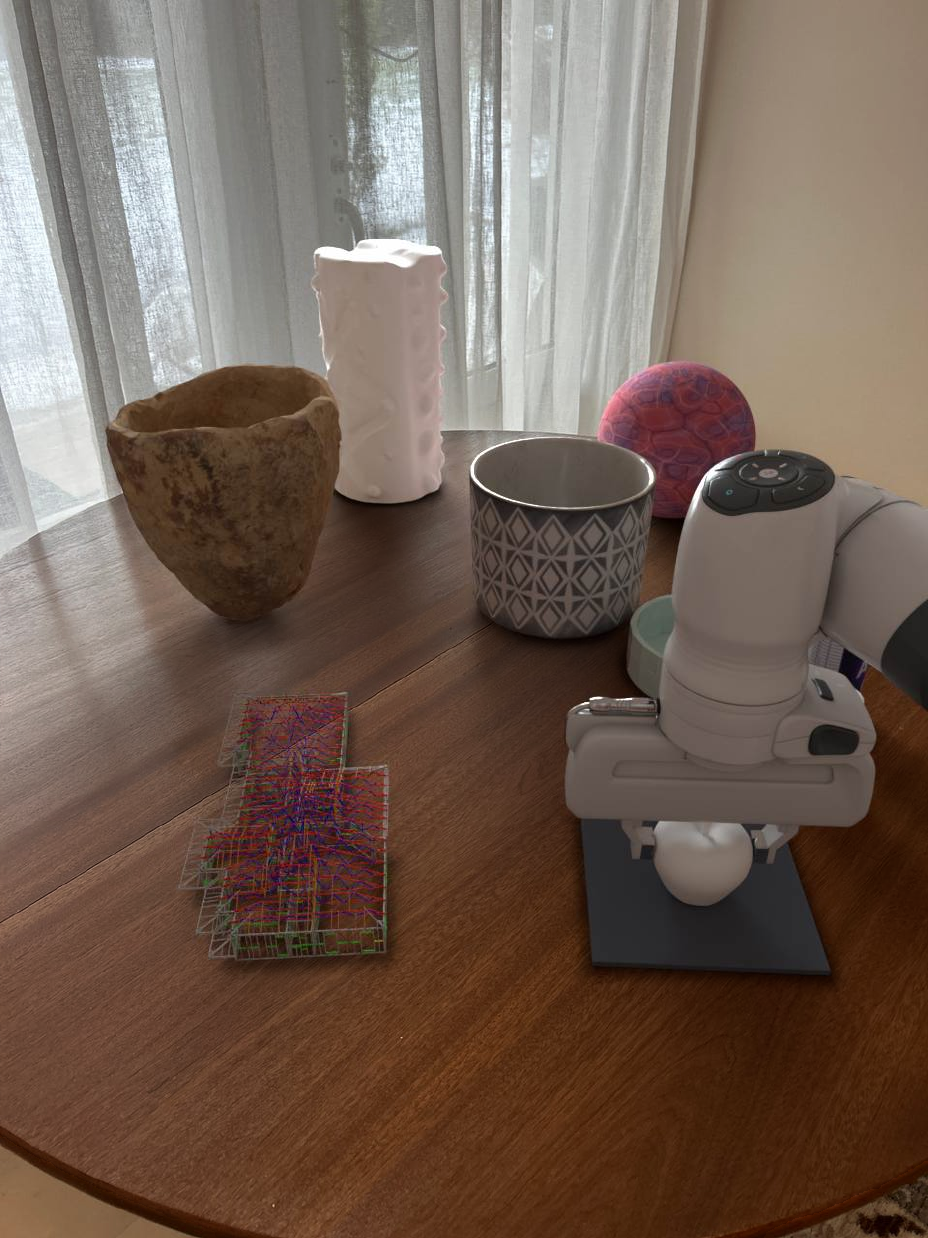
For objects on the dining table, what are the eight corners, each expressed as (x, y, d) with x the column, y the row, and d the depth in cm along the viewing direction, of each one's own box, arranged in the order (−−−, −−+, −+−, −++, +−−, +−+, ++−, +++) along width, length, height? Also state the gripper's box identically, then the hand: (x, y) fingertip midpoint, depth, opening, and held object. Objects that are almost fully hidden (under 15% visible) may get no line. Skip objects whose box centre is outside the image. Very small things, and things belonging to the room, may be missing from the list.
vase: (307, 481, 135) (284, 247, 118) (394, 452, 144) (384, 232, 127) (380, 517, 124) (366, 267, 107) (468, 484, 134) (468, 249, 117)
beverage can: (853, 733, 85) (884, 621, 79) (789, 720, 87) (814, 609, 80) (854, 698, 89) (883, 590, 83) (792, 686, 91) (816, 579, 85)
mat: (780, 827, 75) (781, 823, 74) (829, 975, 63) (831, 971, 62) (580, 821, 75) (581, 816, 75) (592, 966, 63) (592, 961, 63)
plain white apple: (746, 931, 65) (765, 849, 61) (644, 915, 66) (656, 834, 62) (741, 858, 71) (758, 779, 67) (647, 845, 72) (658, 766, 68)
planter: (491, 664, 95) (493, 517, 86) (454, 574, 111) (452, 443, 102) (668, 642, 98) (687, 499, 89) (607, 558, 114) (618, 430, 105)
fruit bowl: (753, 634, 99) (761, 594, 97) (786, 715, 87) (796, 672, 84) (620, 631, 100) (624, 591, 97) (634, 711, 88) (639, 668, 85)
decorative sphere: (567, 521, 123) (576, 372, 112) (627, 471, 137) (640, 335, 127) (713, 558, 114) (738, 399, 103) (761, 500, 128) (787, 356, 118)
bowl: (203, 554, 115) (168, 353, 102) (375, 571, 112) (363, 364, 98) (108, 652, 97) (51, 421, 84) (312, 677, 93) (286, 439, 80)
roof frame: (231, 712, 88) (224, 666, 85) (391, 705, 89) (389, 660, 86) (164, 983, 62) (150, 931, 60) (389, 971, 63) (385, 919, 60)
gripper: (568, 727, 58) (558, 883, 65) (904, 736, 57) (855, 894, 64) (564, 669, 63) (555, 819, 70) (870, 677, 62) (829, 828, 69)
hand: (700, 855), depth 67 cm, fingers closed on plain white apple, 7 cm apart
